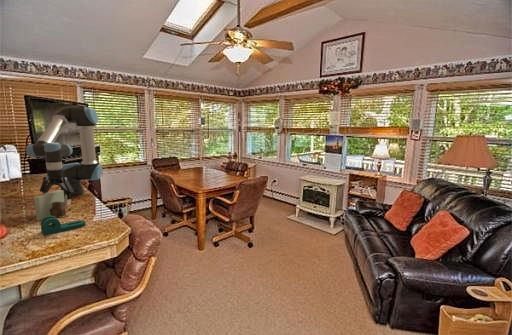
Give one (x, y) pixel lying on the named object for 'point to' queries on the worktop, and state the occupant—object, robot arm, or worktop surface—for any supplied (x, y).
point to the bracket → (58, 225)
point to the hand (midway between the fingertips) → (58, 204)
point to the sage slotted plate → (47, 203)
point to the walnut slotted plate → (58, 209)
